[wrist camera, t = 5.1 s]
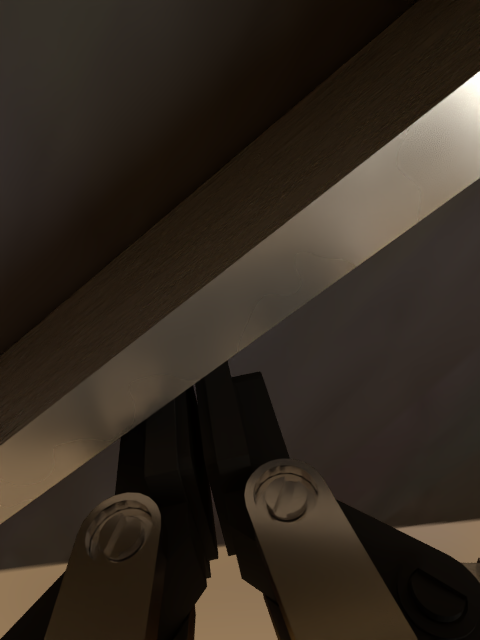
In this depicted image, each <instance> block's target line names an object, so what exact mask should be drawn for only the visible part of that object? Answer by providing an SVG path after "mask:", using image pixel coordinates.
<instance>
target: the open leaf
mask: <svg viewBox="0 0 480 640" xmlns="http://www.w3.org/2000/svg"><path fill="white" fill-rule="evenodd" d="M479 178H480V0H419V1H418V2H417V3H416V4H414V5H413V6H412V7H411V8H410V9H409V10H407V11H406V12H405V13H404V14H403V15H402V16H400V17H399V18H398V19H397V20H396V21H394V22H393V23H392V24H391V25H390V26H389V27H387V28H386V29H385V30H384V31H383V32H381V33H380V34H379V35H378V36H377V37H376V38H374V39H373V40H372V41H371V42H370V43H369V44H367V45H366V46H365V47H364V48H363V49H361V50H360V51H359V52H358V53H357V54H356V55H354V56H353V57H352V58H351V59H350V60H349V61H347V62H346V63H345V64H344V65H343V66H341V67H340V68H339V69H338V70H337V71H336V72H334V73H333V74H332V75H331V76H330V77H329V78H327V79H326V80H325V81H324V82H323V83H321V84H320V85H319V86H318V87H317V88H316V89H314V90H313V91H312V92H311V93H310V94H308V95H307V96H306V97H305V98H304V99H303V100H301V101H300V102H299V103H298V104H297V105H296V106H294V107H293V108H292V109H291V110H290V111H288V112H287V113H286V114H285V115H284V116H283V117H281V118H280V119H279V120H278V121H277V122H276V123H274V124H273V125H272V126H271V127H270V128H268V129H267V130H266V131H265V132H264V133H263V134H261V135H260V136H259V137H258V138H257V139H256V140H254V141H253V142H252V143H251V144H250V145H248V146H247V147H246V148H245V149H244V150H243V151H241V152H240V153H239V154H238V155H237V156H235V157H234V158H233V159H232V160H231V161H230V162H228V163H227V164H226V165H225V166H224V167H223V168H221V169H220V170H219V171H218V172H217V173H215V174H214V175H213V176H212V177H211V178H210V179H208V180H207V181H206V182H205V183H204V184H203V185H201V186H200V187H199V188H198V189H197V190H195V191H194V192H193V193H192V194H191V195H190V196H188V197H187V198H186V199H185V200H184V201H183V202H181V203H180V204H179V205H178V206H177V207H175V208H174V209H173V210H172V211H171V212H170V213H168V214H167V215H166V216H165V217H164V218H162V219H161V220H160V221H159V222H158V223H157V224H155V225H154V226H153V227H152V228H151V229H150V230H148V231H147V232H146V233H145V234H144V235H142V236H141V237H140V238H139V239H138V240H137V241H135V242H134V243H133V244H132V245H131V246H130V247H128V248H127V249H126V250H125V251H124V252H122V253H121V254H120V255H119V256H118V257H117V258H115V259H114V260H113V261H112V262H111V263H110V264H108V265H107V266H106V267H105V268H104V269H102V270H101V271H100V272H99V273H98V274H97V275H95V276H94V277H93V278H92V279H91V280H90V281H88V282H87V283H86V284H85V285H84V286H82V287H81V288H80V289H79V290H78V291H77V292H75V293H74V294H73V295H72V296H71V297H69V298H68V299H67V300H66V301H65V302H64V303H62V304H61V305H60V306H59V307H58V308H57V309H55V310H54V311H53V312H52V313H51V314H49V315H48V316H47V317H46V318H45V319H44V320H42V321H41V322H40V323H39V324H38V325H37V326H35V327H34V328H33V329H32V330H31V331H29V332H28V333H27V334H26V335H25V336H24V337H22V338H21V339H20V340H19V341H18V342H17V343H15V344H14V345H13V346H12V347H11V348H9V349H8V350H7V351H6V352H5V353H4V354H2V355H1V356H0V524H1V523H3V522H4V521H5V520H7V519H8V518H9V517H11V516H12V515H14V514H15V513H16V512H18V511H19V510H21V509H22V508H23V507H25V506H26V505H27V504H29V503H30V502H32V501H33V500H34V499H36V498H37V497H39V496H40V495H41V494H43V493H44V492H45V491H47V490H48V489H50V488H51V487H52V486H54V485H55V484H57V483H58V482H59V481H61V480H62V479H63V478H65V477H66V476H68V475H69V474H70V473H72V472H73V471H75V470H76V469H77V468H79V467H80V466H81V465H83V464H84V463H86V462H87V461H88V460H90V459H91V458H93V457H94V456H95V455H97V454H98V453H99V452H101V451H102V450H104V449H105V448H106V447H108V446H109V445H111V444H112V443H113V442H115V441H116V440H117V439H119V438H120V437H122V436H123V435H124V434H126V433H127V432H129V431H130V430H131V429H133V428H134V427H135V426H137V425H138V424H140V423H141V422H142V421H144V420H145V419H147V418H148V417H149V416H151V415H152V414H153V413H155V412H156V411H158V410H159V409H160V408H162V407H163V406H165V405H166V404H167V403H169V402H170V401H171V400H173V399H174V398H176V397H177V396H178V395H180V394H181V393H182V392H184V391H185V390H187V389H188V388H189V387H191V386H192V385H194V384H195V383H196V382H198V381H199V380H200V379H202V378H203V377H205V376H206V375H207V374H209V373H210V372H212V371H213V370H214V369H216V368H217V367H218V366H220V365H221V364H223V363H224V362H225V361H227V360H228V359H230V358H231V357H232V356H234V355H235V354H236V353H238V352H239V351H241V350H242V349H243V348H245V347H246V346H248V345H249V344H250V343H252V342H253V341H254V340H256V339H257V338H259V337H260V336H261V335H263V334H264V333H266V332H267V331H268V330H270V329H271V328H272V327H274V326H275V325H277V324H278V323H279V322H281V321H282V320H284V319H285V318H286V317H288V316H289V315H290V314H292V313H293V312H295V311H296V310H297V309H299V308H300V307H302V306H303V305H304V304H306V303H307V302H308V301H310V300H311V299H313V298H314V297H315V296H317V295H318V294H320V293H321V292H322V291H324V290H325V289H326V288H328V287H329V286H331V285H332V284H333V283H335V282H336V281H338V280H339V279H340V278H342V277H343V276H344V275H346V274H347V273H349V272H350V271H351V270H353V269H354V268H356V267H357V266H358V265H360V264H361V263H362V262H364V261H365V260H367V259H368V258H369V257H371V256H372V255H374V254H375V253H376V252H378V251H379V250H380V249H382V248H383V247H385V246H386V245H387V244H389V243H390V242H392V241H393V240H394V239H396V238H397V237H398V236H400V235H401V234H403V233H404V232H405V231H407V230H408V229H410V228H411V227H412V226H414V225H415V224H416V223H418V222H419V221H421V220H422V219H423V218H425V217H426V216H428V215H429V214H430V213H432V212H433V211H434V210H436V209H437V208H439V207H440V206H441V205H443V204H444V203H446V202H447V201H448V200H450V199H451V198H452V197H454V196H455V195H457V194H458V193H459V192H461V191H462V190H464V189H465V188H466V187H468V186H469V185H470V184H472V183H473V182H475V181H476V180H477V179H479Z"/></svg>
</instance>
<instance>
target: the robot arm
mask: <svg viewBox="0 0 480 640" xmlns="http://www.w3.org/2000/svg"><path fill="white" fill-rule="evenodd" d="M195 385H196V394H197V400H196V396H195V392H194V388H193V385H192V386H191V387H189V388H188V389H187V390H185V391H184V392H182V393H181V394H180V395H178V396H177V397H176V398H174V399H173V400H171V401H170V402H169V403H167V404H166V405H165V406H163V407H162V408H160V409H159V410H158V411H156V412H155V413H153V414H152V415H151V416H149V417H148V418H147V419H145V420H144V421H142V422H141V423H140V424H138V425H137V426H135V427H134V428H133V429H131V430H130V431H129V432H127V433H126V434H124V435H123V436H122V437H121V441H120V451H119V461H118V471H117V481H116V491H115V496H113V497H111V498H109V499H107V500H105V501H103V502H102V503H101V504H99V505H98V506H97V507H96V508H95V509H93V510H92V511H91V513H90V514H89V515H88V516H87V518H86V519H85V520H84V521H83V523H82V525H81V527H80V530H79V532H78V534H77V537H76V540H75V543H74V546H73V550H72V553H71V556H70V559H69V562H68V565H67V569H66V571H65V572H64V573H63V574H62V575H61V576H60V577H59V578H58V579H57V580H56V582H54V584H53V585H52V586H51V587H50V588H49V589H48V590H47V591H46V592H45V593H44V594H43V595H42V596H41V597H40V598H39V599H38V600H37V601H36V602H35V603H34V605H33V606H32V607H31V608H30V609H29V610H28V611H27V612H26V613H25V614H24V615H23V616H22V617H21V618H20V619H19V620H18V621H17V622H16V624H14V625H13V627H12V628H11V629H10V630H9V631H8V632H7V633H6V634H5V635H4V636H3V637H2V638H1V639H0V640H194V633H195V616H196V614H195V603H196V602H197V600H198V599H199V598H200V596H201V595H202V593H203V592H204V590H205V589H206V587H207V582H206V578H210V577H211V573H210V562H209V561H210V560H214V559H218V548H217V540H216V532H215V524H214V516H213V507H212V499H211V491H210V486H211V490H212V494H213V498H214V502H215V506H216V510H217V514H218V517H219V521H220V525H221V529H222V533H223V537H224V541H225V545H226V548H227V552H228V556H231V555H235V554H236V556H237V560H238V564H239V568H240V572H241V577H242V579H243V580H245V581H246V582H248V583H249V584H251V585H252V586H254V587H255V588H256V589H258V590H259V591H261V592H262V593H263V596H264V600H265V603H266V606H267V608H268V612H269V614H270V617H271V620H272V623H273V626H274V629H275V632H276V635H277V638H278V640H480V558H478V561H477V563H460V562H458V561H457V560H455V559H454V558H452V557H451V556H449V555H447V554H445V553H443V552H441V551H439V550H437V549H435V548H433V547H431V546H429V545H427V544H425V543H423V542H421V541H419V540H417V539H415V538H413V537H411V536H409V535H407V534H405V533H403V532H401V531H399V530H397V529H395V528H393V527H391V526H389V525H387V524H385V523H383V522H381V521H379V520H377V519H375V518H373V517H370V516H368V515H366V514H364V513H362V512H360V511H358V510H356V509H354V508H352V507H350V506H348V505H346V504H344V503H342V502H340V501H338V500H336V499H335V498H334V496H333V494H332V493H331V491H330V489H329V488H328V486H327V484H326V483H325V481H324V479H323V478H322V476H321V475H320V474H319V473H318V472H317V470H316V469H314V468H313V467H311V466H310V465H308V464H307V463H305V462H302V461H299V460H296V459H290V458H289V455H288V452H287V449H286V446H285V443H284V440H283V437H282V434H281V431H280V428H279V425H278V422H277V419H276V416H275V413H274V410H273V407H272V404H271V401H270V398H269V395H268V392H267V389H266V386H265V383H264V380H263V377H262V374H261V372H255V373H250V374H246V375H241V376H236V377H231V375H230V370H229V366H228V362H227V361H225V362H224V363H223V364H221V365H220V366H218V367H217V368H216V369H214V370H213V371H212V372H210V373H209V374H207V375H206V376H205V377H203V378H202V379H200V380H199V381H198V382H196V383H195ZM197 403H198V404H197ZM209 482H210V483H209Z"/></svg>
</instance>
